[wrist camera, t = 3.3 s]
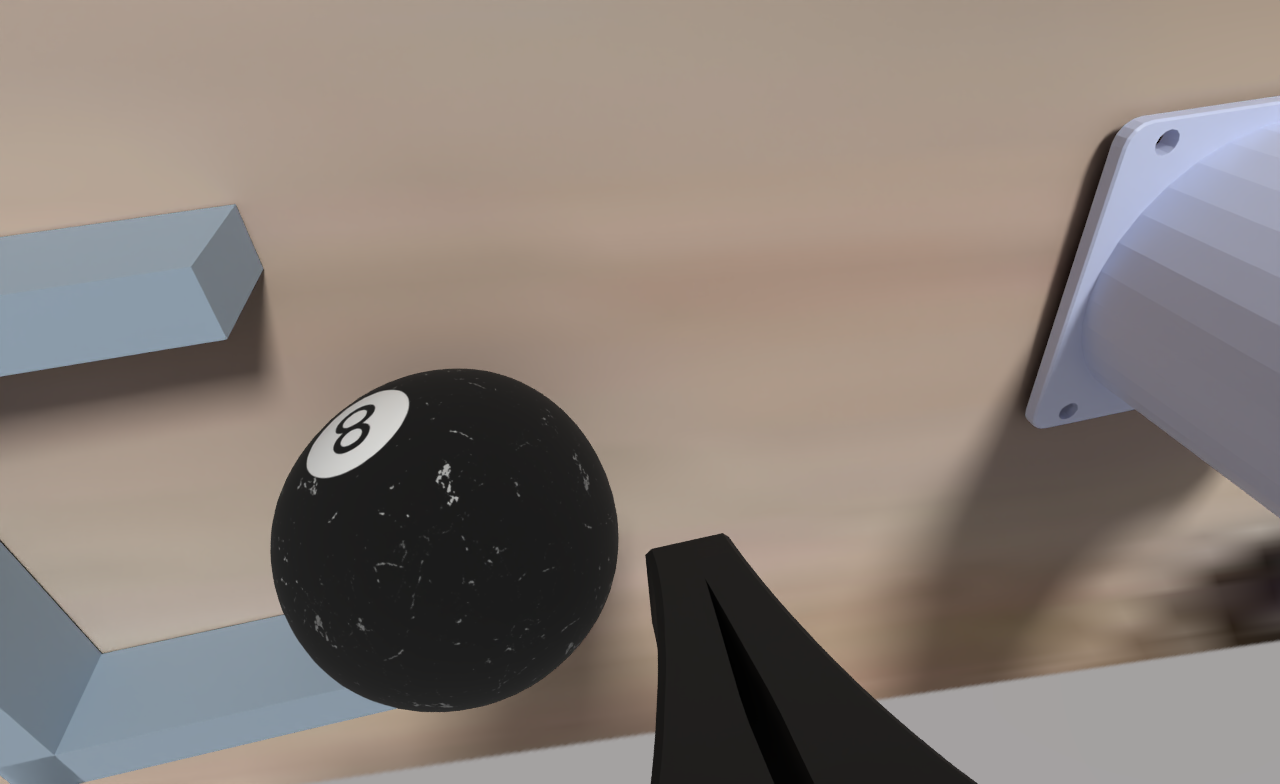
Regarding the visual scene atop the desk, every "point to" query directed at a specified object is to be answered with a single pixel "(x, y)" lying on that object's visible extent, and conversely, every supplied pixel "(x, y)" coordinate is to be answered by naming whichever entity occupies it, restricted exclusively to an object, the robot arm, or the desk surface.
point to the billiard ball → (444, 541)
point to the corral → (29, 618)
